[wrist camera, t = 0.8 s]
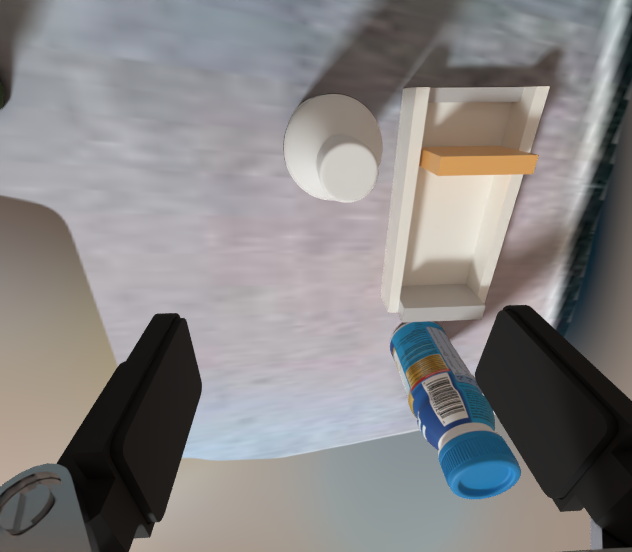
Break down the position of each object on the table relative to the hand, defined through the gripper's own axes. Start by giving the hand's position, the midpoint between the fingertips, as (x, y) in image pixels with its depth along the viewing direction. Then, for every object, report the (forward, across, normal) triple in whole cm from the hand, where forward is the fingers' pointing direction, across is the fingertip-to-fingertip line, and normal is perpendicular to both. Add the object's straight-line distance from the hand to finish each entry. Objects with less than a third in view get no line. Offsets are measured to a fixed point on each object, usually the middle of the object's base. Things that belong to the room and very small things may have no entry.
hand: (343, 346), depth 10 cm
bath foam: (+28, -1, -3) cm, 29 cm away
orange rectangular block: (+27, -15, -1) cm, 31 cm away
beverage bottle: (+28, -16, +25) cm, 40 cm away
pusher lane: (+28, -16, +5) cm, 32 cm away
